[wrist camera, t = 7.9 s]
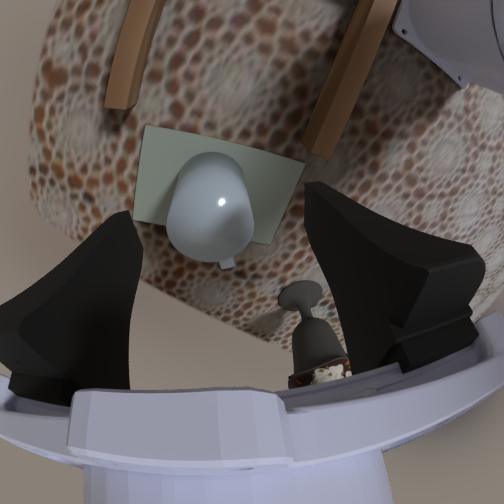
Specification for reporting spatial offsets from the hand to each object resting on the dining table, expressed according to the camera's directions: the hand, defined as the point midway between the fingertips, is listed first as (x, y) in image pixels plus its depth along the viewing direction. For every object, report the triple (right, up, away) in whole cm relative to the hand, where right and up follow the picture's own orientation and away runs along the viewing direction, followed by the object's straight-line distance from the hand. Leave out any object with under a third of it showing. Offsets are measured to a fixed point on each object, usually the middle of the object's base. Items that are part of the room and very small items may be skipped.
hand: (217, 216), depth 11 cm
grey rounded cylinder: (-2, +4, +9) cm, 10 cm away
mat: (-2, +3, +10) cm, 11 cm away
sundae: (+7, -6, +19) cm, 21 cm away
